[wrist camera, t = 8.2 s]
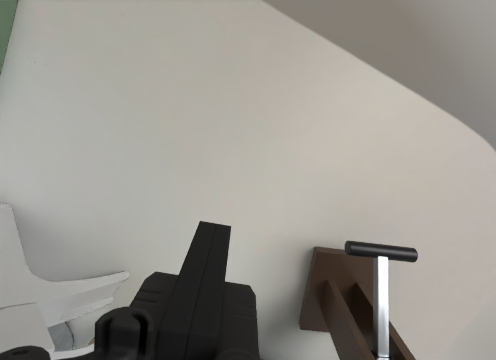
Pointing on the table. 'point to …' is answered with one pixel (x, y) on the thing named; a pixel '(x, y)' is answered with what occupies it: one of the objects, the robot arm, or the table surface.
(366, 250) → the tap lever
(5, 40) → the button box
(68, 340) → the vase
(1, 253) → the faucet
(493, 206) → the table surface
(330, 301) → the brown lever stand
